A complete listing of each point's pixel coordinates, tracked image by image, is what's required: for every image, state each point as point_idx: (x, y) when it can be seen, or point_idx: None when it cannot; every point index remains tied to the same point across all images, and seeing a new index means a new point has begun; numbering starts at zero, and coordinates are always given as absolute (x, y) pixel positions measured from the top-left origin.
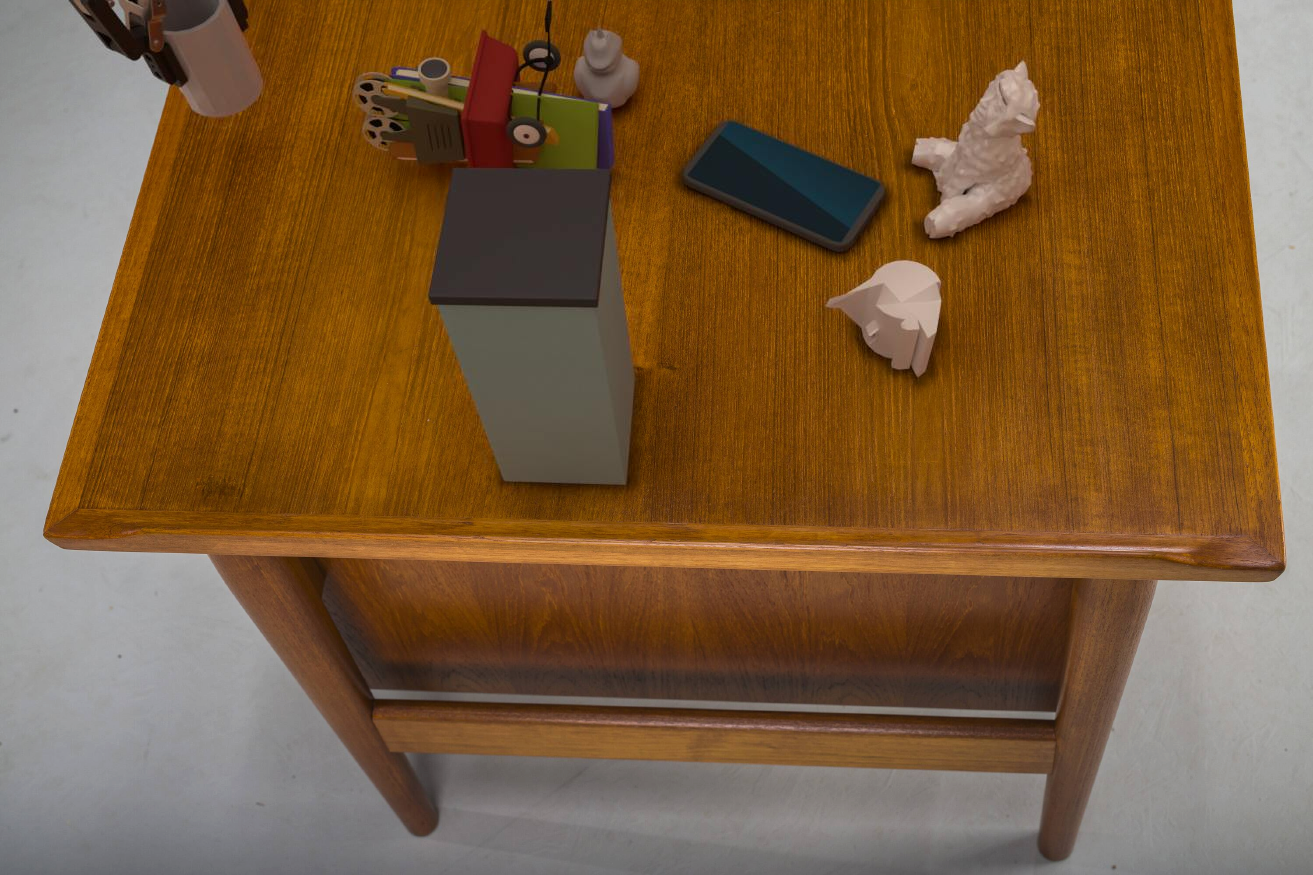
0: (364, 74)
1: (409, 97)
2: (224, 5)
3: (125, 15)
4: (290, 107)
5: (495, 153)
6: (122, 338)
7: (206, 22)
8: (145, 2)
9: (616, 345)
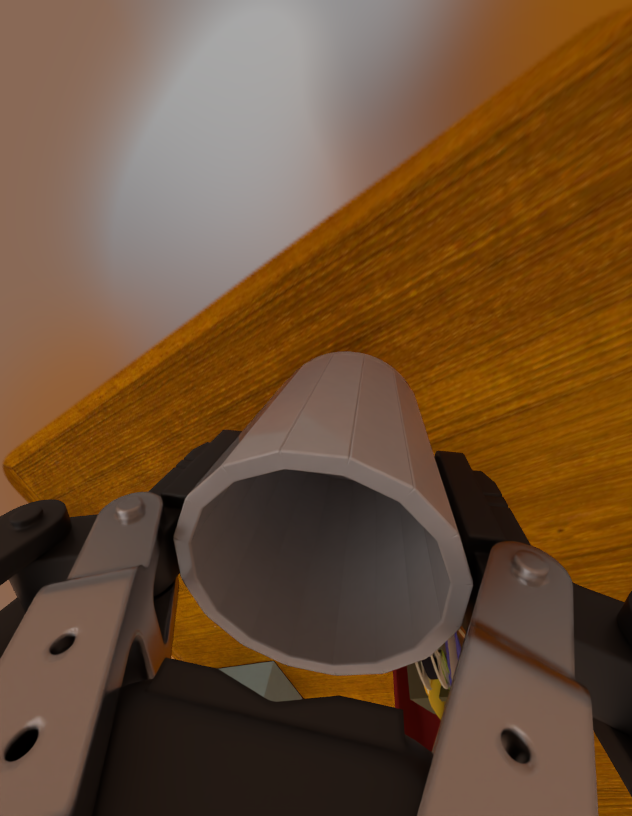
0: (435, 670)
1: (427, 699)
2: (381, 671)
3: (73, 572)
4: (453, 354)
5: (414, 712)
6: (103, 398)
7: (293, 661)
8: (124, 681)
9: None
